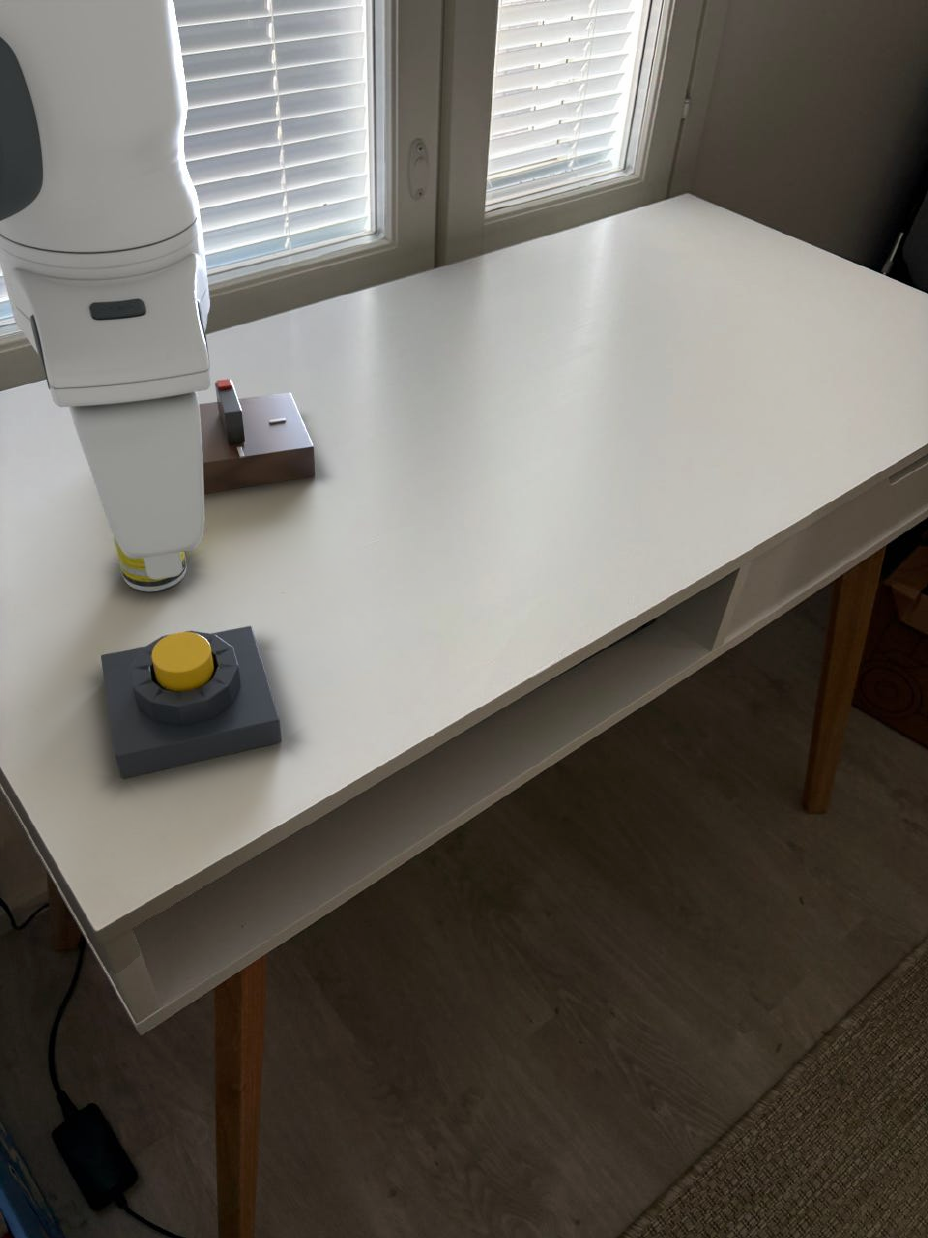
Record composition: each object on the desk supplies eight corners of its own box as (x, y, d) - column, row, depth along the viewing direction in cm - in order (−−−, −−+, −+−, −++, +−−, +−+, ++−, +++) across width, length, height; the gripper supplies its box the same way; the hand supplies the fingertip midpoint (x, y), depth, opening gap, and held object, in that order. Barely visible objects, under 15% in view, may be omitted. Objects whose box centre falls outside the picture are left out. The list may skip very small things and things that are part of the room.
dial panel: (172, 499, 83) (166, 467, 81) (157, 438, 89) (151, 407, 87) (315, 476, 86) (314, 445, 84) (291, 420, 92) (289, 389, 90)
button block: (120, 779, 62) (108, 737, 59) (106, 677, 68) (95, 635, 65) (282, 742, 65) (277, 700, 62) (254, 647, 71) (249, 605, 68)
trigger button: (159, 697, 62) (155, 678, 61) (152, 657, 65) (147, 638, 63) (218, 685, 63) (215, 665, 62) (208, 646, 66) (205, 626, 65)
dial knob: (245, 442, 84) (241, 408, 82) (228, 444, 84) (224, 410, 81) (235, 410, 87) (231, 377, 85) (218, 413, 87) (214, 379, 85)
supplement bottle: (190, 588, 75) (174, 496, 69) (124, 598, 74) (103, 505, 68) (183, 548, 78) (168, 457, 73) (120, 557, 77) (99, 465, 71)
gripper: (24, 194, 52) (76, 423, 62) (49, 395, 39) (111, 651, 48) (149, 186, 54) (181, 410, 64) (215, 375, 40) (244, 625, 50)
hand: (152, 516), depth 56 cm, fingers open, 8 cm apart
